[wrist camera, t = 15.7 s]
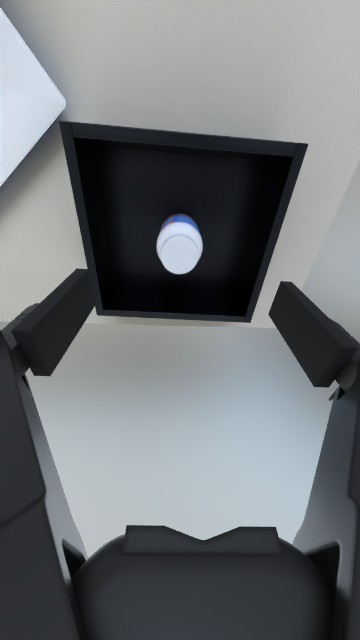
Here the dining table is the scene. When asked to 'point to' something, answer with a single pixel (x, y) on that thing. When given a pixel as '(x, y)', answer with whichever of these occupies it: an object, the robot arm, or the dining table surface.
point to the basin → (178, 197)
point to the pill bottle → (179, 243)
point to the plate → (22, 99)
